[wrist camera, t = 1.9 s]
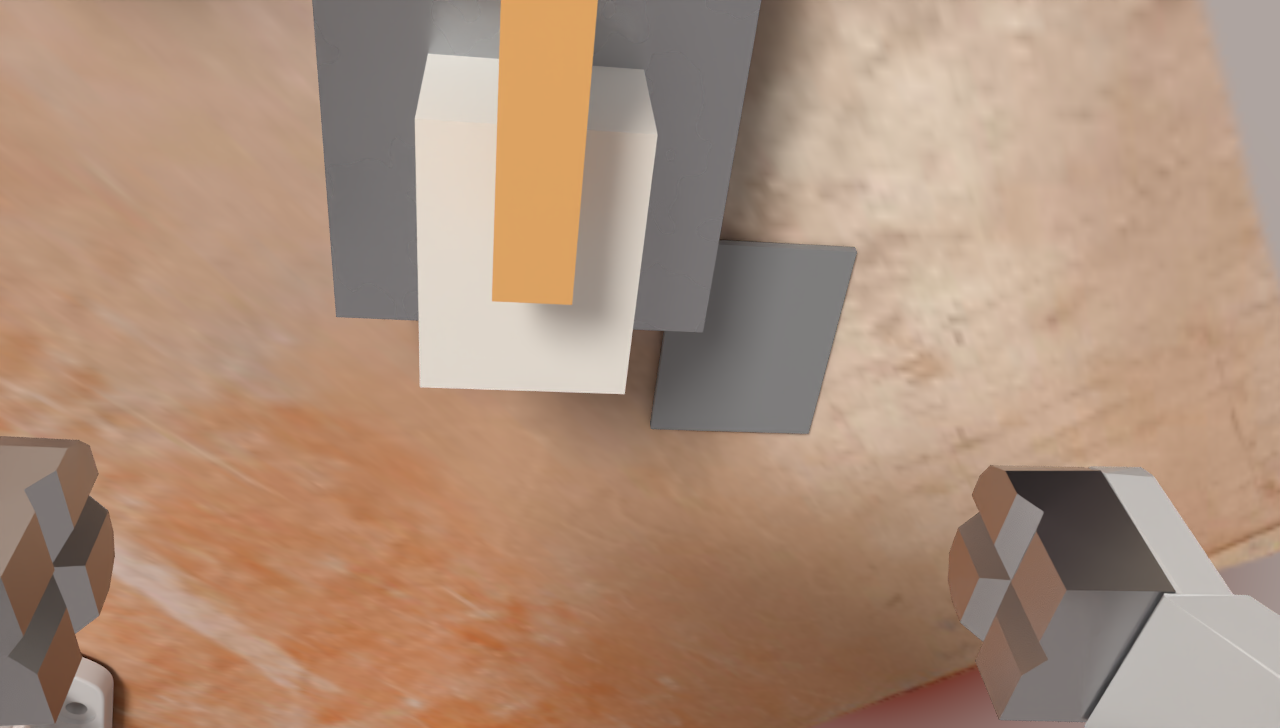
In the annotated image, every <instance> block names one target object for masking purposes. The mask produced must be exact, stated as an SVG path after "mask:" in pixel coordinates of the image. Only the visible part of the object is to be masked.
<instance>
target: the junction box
mask: <svg viewBox="0 0 1280 728" xmlns="http://www.w3.org/2000/svg"><path fill="white" fill-rule="evenodd" d="M312 3H313V16H314V29H315V43H316V56H317V69H318V82H319V96H320V109H321V122H322V135H323V148H324V162H325V175H326V188H327V201H328V215H329V228H330V241H331V254H332V268H333V281H334V294H335V307H336V317H347V318H371V319H395V320H419V312H418V261H417V209H416V158H415V115H416V110H417V105H418V100H419V95H420V90H421V85H422V80H423V76H424V71H425V66H426V61H427V56H428V54H440V55H454V56H467V57H481V58H495V59H499V44H500V11H501V0H312ZM760 5H761V0H598V4H597V16H596V28H595V40H594V52H593V64H592V66H604V67H617V68H631V69H644V72H645V77H646V82H647V87H648V91H649V96H650V101H651V106H652V110H653V115H654V120H655V125H656V129H657V134H658V136H657V143H656V151H655V159H654V167H653V175H652V183H651V191H650V198H649V206H648V214H647V222H646V230H645V238H644V246H643V253H642V261H641V269H640V277H639V285H638V293H637V301H636V308H635V316H634V324H633V330H657V331H681V332H703V329H704V324H705V318H706V312H707V307H708V301H709V295H710V289H711V284H712V278H713V272H714V267H715V261H716V255H717V250H718V244H719V238H720V233H721V227H722V221H723V216H724V210H725V204H726V198H727V193H728V187H729V181H730V176H731V170H732V164H733V159H734V153H735V147H736V142H737V136H738V130H739V124H740V119H741V113H742V107H743V102H744V96H745V90H746V85H747V79H748V73H749V68H750V62H751V56H752V50H753V45H754V39H755V33H756V28H757V22H758V16H759V11H760Z"/></svg>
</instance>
